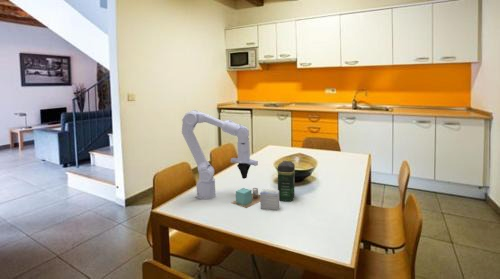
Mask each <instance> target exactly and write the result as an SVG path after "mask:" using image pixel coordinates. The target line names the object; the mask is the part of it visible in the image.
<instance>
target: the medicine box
mask: <svg viewBox="0 0 500 279" xmlns="http://www.w3.org/2000/svg"><path fill="white" fill-rule="evenodd" d="M259 195H260V202H259V203H260V209H261V210H268V211H269V210H270V211H279V208H280V205H281V204H280V201H279V190H278V189H266V188H263V189H262V190H261V191H260V192H259Z"/></svg>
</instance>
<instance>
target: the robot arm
mask: <svg viewBox="0 0 500 279" xmlns="http://www.w3.org/2000/svg"><path fill="white" fill-rule="evenodd" d="M181 121H182V123H181V124H182V126H181V134H182V136H183V138H184V140H185V142H186V144H187V146H188V148H189V151H190V153H191V155H192V157H193V159H194V161H195V164H196V166H197V172H198V173H199V174H198V177H199V179H198V180H197V182H196V185H195V187H196V196H195V198H196V199H200V200H202V199H204V200H209V199H214V198H215V197H217V196H216V194H217V193H216V178H215V177H214V175H215V172H216V171H215V168H214V167H213V166H212V165H211V164H210V162H209V160H208V159H207V158H206V156H205V153H204V152H203V150H202V147H201V145H200V143H199V141H198V140H197V137H196V135H195V133H194V130H195V128H196V126H197V124H202V123H207V124H210V125H212V126H215V127H219V128H221V130H222V132H224V133H227V134H230V135H232V136H234V137H235V136H236V138H237V142H236V143H237V158H236V157H232V158H230V163H232V164H233V163H235V164H237V168H238V170H239V172H240V175H241V178H242V179H243V180H245V179H247V178H248V174H249V169H250V167H251V166H255V167H256V166H258V165H259V163H258V162H259V161H258V160H255V159H251V158H250V138H249V136H250V130H249V128H248V127H247V126H246V125H242V124H240V123H239V124H238V123H236V122H234V121H233V120H231V119H229V120H228V119H227V120H224V121H223V120H221V119H219V118H217V117H214V116H212V115H210V114H208V113H205V112H201V111H198V110H196V109H195V110H190V111H188V112H186V113H185V114H184V116H183V118H182V119H181Z"/></svg>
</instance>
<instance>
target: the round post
mask: <svg viewBox="0 0 500 279" xmlns="http://www.w3.org/2000/svg"><path fill="white" fill-rule="evenodd" d="M252 193H253V198H254V199H257V198H258V195H259V188H258V187H253V188H252Z"/></svg>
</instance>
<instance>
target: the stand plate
mask: <svg viewBox="0 0 500 279" xmlns="http://www.w3.org/2000/svg"><path fill="white" fill-rule="evenodd" d="M230 203H231V204H233V205H236V206H240V207H242V208H244V209H248V208H250V207H252V206H254V205H256V204H258V203H261V202H260V194H258V198H257V199H254V198H253V192H252V203H250V204H247V205H245V206H243V205H240V204H237V203H236V200H233V201H231V202H230Z"/></svg>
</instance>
